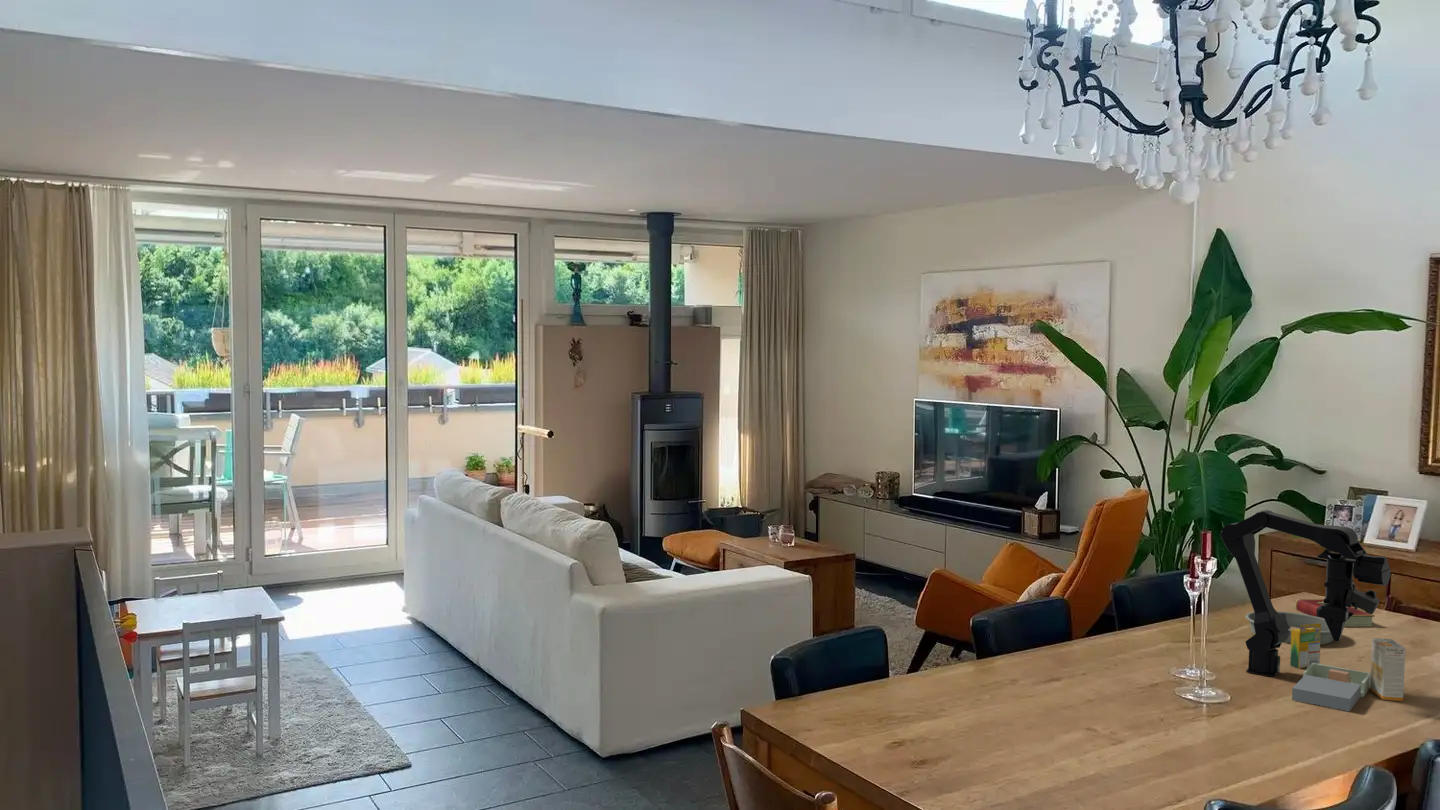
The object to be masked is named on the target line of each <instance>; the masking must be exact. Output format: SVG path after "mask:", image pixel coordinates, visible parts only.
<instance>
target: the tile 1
mask: <svg viewBox="0 0 1440 810" xmlns="http://www.w3.org/2000/svg"><path fill="white" fill-rule="evenodd" d="M1328 679H1331V680H1336V681H1342V682H1347V683H1349V672H1345V671H1339V670H1334V669H1330V670H1329V677H1328Z"/></svg>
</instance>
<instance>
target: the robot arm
mask: <svg viewBox="0 0 1440 810" xmlns="http://www.w3.org/2000/svg"><path fill="white" fill-rule="evenodd" d="M1265 528H1266V529H1267V528H1268V529H1272V530H1274V531H1278V532H1282V533H1285V534H1289V535H1293V536H1297V537H1299V538H1303V539H1307V540H1310V541H1313V542H1314V543H1316V544H1317V545H1319V546H1320V547H1322V548H1324V550H1323V551H1322V552H1321V553H1320V554H1317V558H1318V559H1323V560H1326V571H1325V572H1326V575H1325V577H1326V579H1325V581H1324V585H1323V587H1325V597H1324V598H1323V599H1324V601H1323V603H1324V604H1322V605H1321V606H1320V607H1318V608H1317V617H1322V618H1324V619H1325V622H1326V624H1327V626H1328V628H1329V630H1330V633H1331V635H1332V637H1333V641H1334V642H1337V643H1339V642H1340V641H1341V637H1342V635H1343V631H1344V628H1345V626H1344V625H1345V622H1346V620H1348V619H1349V618H1350V617H1351V616H1352V615H1353V614H1354V613H1352V612H1348V611H1349V610H1348V608H1347V607H1354V609H1359V610H1361V611H1364V612H1366V613H1369V614H1372V615H1374V613H1375V612H1376V609H1377V608H1378V605H1379V603H1380V598H1377V592H1376V591H1374V590H1372V589H1369V590H1367V591H1365V592H1364V591H1360V590H1358V589H1356V587H1357V585H1356V584H1355V582H1354V578H1355V579H1356V580H1357V581H1358V582H1359V583H1366V584H1373V585H1379V586H1384V587H1386V586H1387V585H1388V584H1389V581H1390V579H1391V569H1390V564H1389V562H1388V557H1387V556H1380V555H1379V556H1376V555H1370V554H1369V555H1368V552H1367V551H1366V549H1365V548H1364V547H1363V546H1362V544H1361V543H1360V541H1359V537H1358V535H1357V532H1356V531H1355V530H1354V529H1353V528H1351V527H1348V526H1342V525H1331V524H1329V525H1328V524H1317V523H1313V522H1309V521H1307V520H1302V519H1299V518H1295V517H1291V516H1287V515H1284V514H1281V513H1276V512H1273V511H1272V510H1267V509H1265V510H1260V511H1257V512H1256V513H1255V514H1253V515H1251V516H1250V517H1247V518H1245V519H1243V520H1241V521H1239V522H1234V523H1230V524H1226V525H1224V526H1223V527H1222V529H1221V531H1220V538H1221V540H1222V542H1223V544H1224V546H1225V549H1226V550H1227V551H1228V552H1229V553H1230V555H1232V556H1233V558H1234V559H1235V561H1236V563H1237V567H1238V569H1239V572H1240V576H1241V577H1242V581H1243V583H1244V586H1245V589H1246V593H1247V595H1248V597H1249V601H1250V603H1251V607H1252V609H1253V612H1254V629H1255V634H1254V635H1252V636H1251V637H1249V638H1248V639H1246V640H1245V645H1246V648H1247V650H1248V664H1247V665H1248V668H1247V669H1246V670H1245V672H1246V673H1251V674H1256V675H1260V676H1261V675H1262V676H1267V677H1272V678H1273V677H1275V676H1276V675H1277V674H1279V672H1280V671H1281V655H1279V648H1280V647H1281V646H1282V644H1283V643H1286V642H1285V641H1286V640H1287V638H1288V636H1289V630H1288V629H1291V627H1290V626H1289V625H1288V623H1287V620H1286V615H1285V613H1282V614H1278V612H1277V611H1278V610H1276V609H1275V607H1274V605H1273V603H1272V599H1271V597H1270V594H1269V592H1268V589H1267V586H1266V583H1265V580H1264V576H1263V575H1262V572H1261V569H1260V566H1259V563H1258V561H1257V558H1256V554H1255V553H1256V552H1255V551H1256V539H1255V535H1256V534H1258V533H1261V532H1262V531H1263V530H1264V529H1265ZM1326 603H1327V604H1326Z"/></svg>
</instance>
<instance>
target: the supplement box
mask: <svg viewBox="0 0 1440 810" xmlns="http://www.w3.org/2000/svg"><path fill="white" fill-rule="evenodd" d="M1406 650H1407V649H1406V647H1405V646H1404V645H1402V644H1400V643H1399V642H1397V641H1396V640H1394V639H1390V638H1372V640H1371V658H1370V659H1371V660H1370V673H1371V678H1370V689H1369V691H1371V692H1373V693H1374V694H1375V695H1376V696H1378V697H1379V698H1380V699H1381V700H1385V701H1398V702H1404V695H1405V694H1404V691H1405V690H1404V689H1405V671H1406V670H1405V668H1406Z"/></svg>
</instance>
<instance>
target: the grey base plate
mask: <svg viewBox="0 0 1440 810" xmlns="http://www.w3.org/2000/svg"><path fill="white" fill-rule="evenodd" d="M1291 691H1292V693H1291V701H1292V700H1295V701H1294V702H1297V701H1300V702H1299V703H1302V702H1305V703H1304V704H1307V703H1310V704H1309V705H1313V704H1316V705H1315V706H1318V705H1320V706H1319V707H1323V706H1326V707H1325V708H1328V707H1330V708H1329V709H1333V708H1334V709H1333V710H1338V709H1340V710H1339V711H1343V710H1345V711H1344V712H1348V711H1350V712H1351V710H1352V709H1353V708H1352V707H1355V705H1356V704H1355V703H1357V702H1358V701H1359V700H1358V699H1360V698H1361V697H1360V693H1361V685H1358V684H1353V683H1347V682H1342V681H1336V680H1331V679H1325V678H1320V677H1315V676H1309V675H1305V676H1304V677H1303V676H1302V678H1301V679H1300V680H1299V681H1297V683H1296V684H1295V685H1294V686H1293V687H1292V688H1291ZM1357 700H1358V701H1357ZM1354 704H1355V705H1354ZM1351 708H1352V709H1351Z"/></svg>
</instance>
